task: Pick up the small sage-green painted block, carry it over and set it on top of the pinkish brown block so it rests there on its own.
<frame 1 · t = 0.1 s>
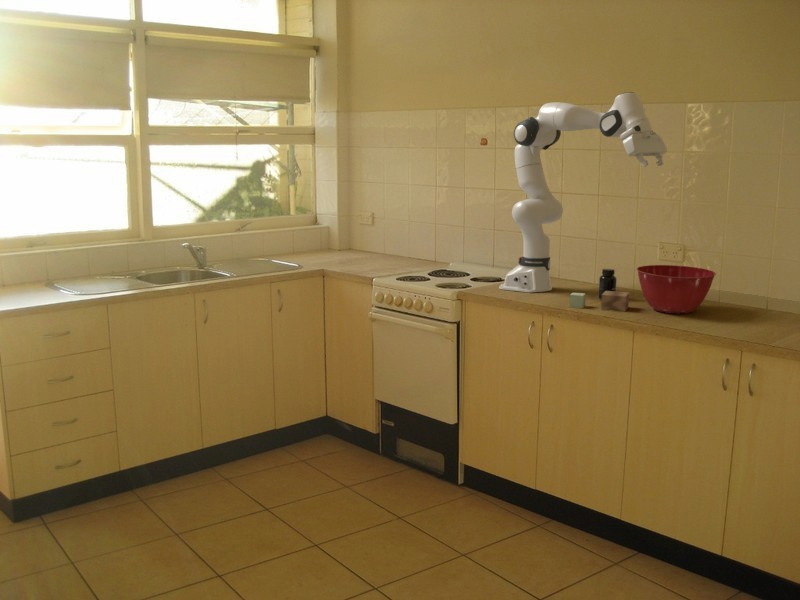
hand: (653, 165, 302), 54 cm above the worktop, tool tilted 30°, fingers open, 8 cm apart
supplement bottle: (606, 298, 335), on the worktop
sage block: (577, 306, 319), on the worktop
pinkish brown block: (614, 308, 316), on the worktop
mixing bowl: (673, 310, 312), on the worktop
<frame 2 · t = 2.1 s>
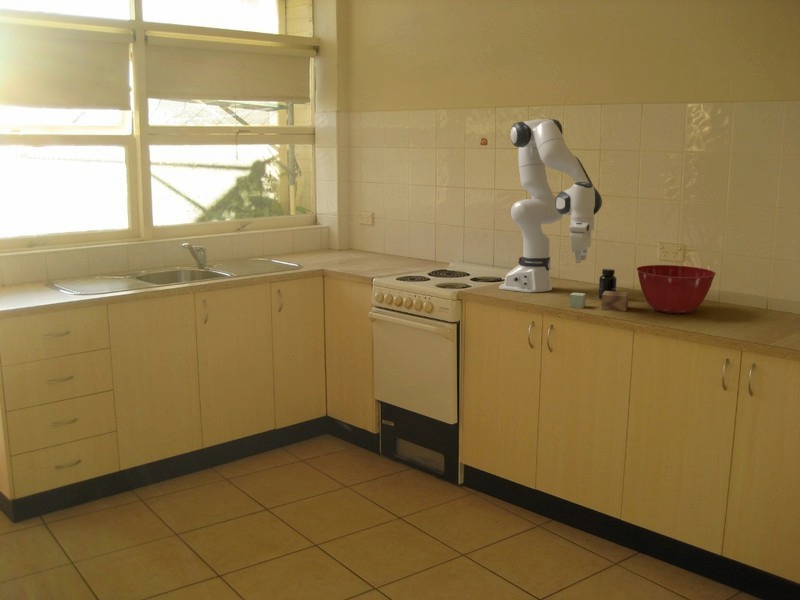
hand: (580, 261, 315), 18 cm above the worktop, tool pointing down, fingers open, 8 cm apart
nothing on the worktop moved.
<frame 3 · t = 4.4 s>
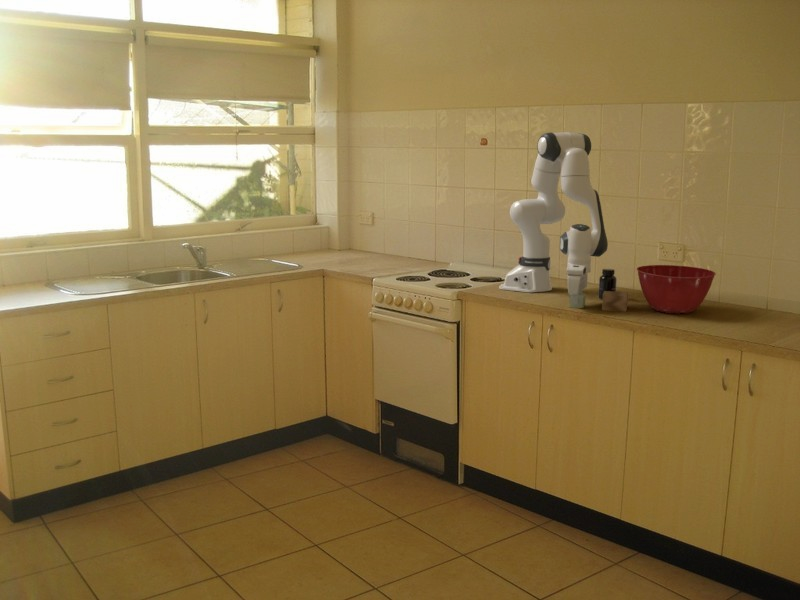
hand: (577, 302, 319), 2 cm above the worktop, tool pointing down, fingers closed on sage block, 5 cm apart
sage block: (577, 306, 319), on the worktop, touching gripper
everything else where it was.
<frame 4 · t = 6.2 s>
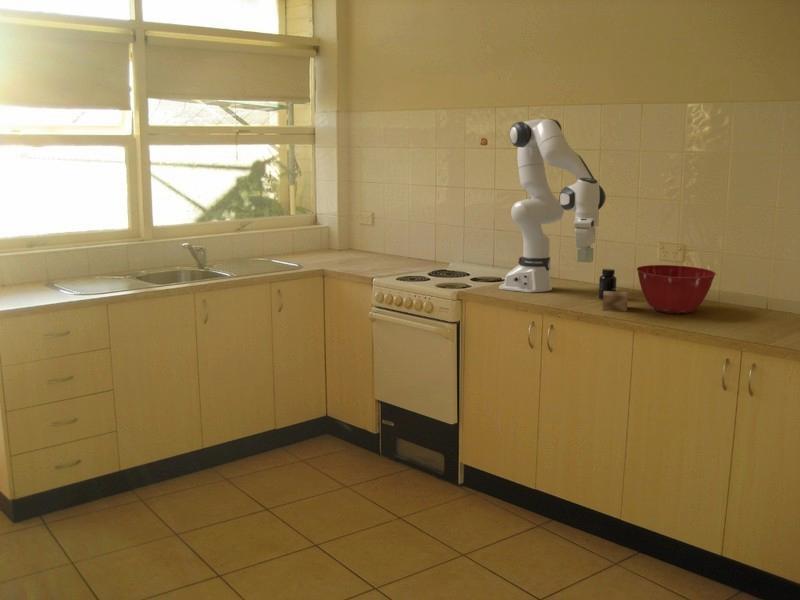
hand: (585, 257, 315), 19 cm above the worktop, tool pointing down, fingers closed on sage block, 5 cm apart
sage block: (585, 261, 315), point 18 cm above the worktop, touching gripper
everything else where it was.
when the fingers open (9 cm above the worktop, at t = 8.4 s): sage block drops 2 cm, resting on pinkish brown block.
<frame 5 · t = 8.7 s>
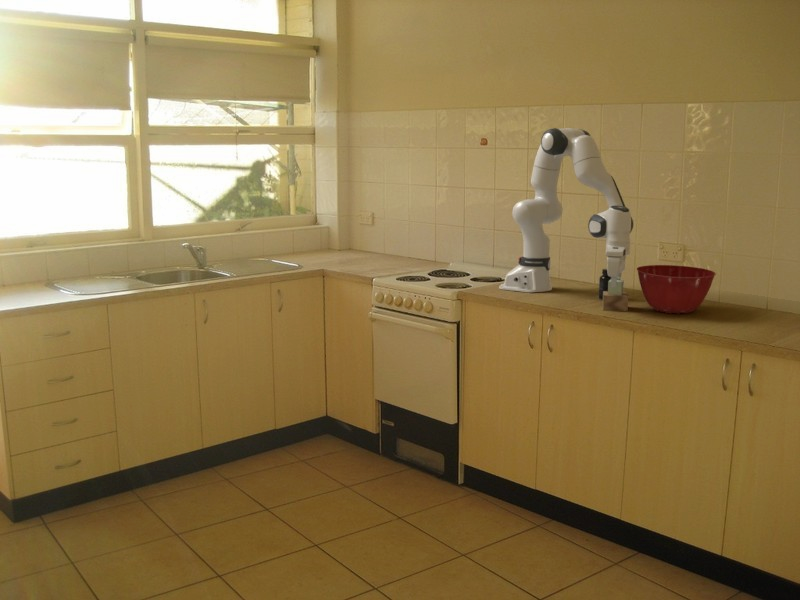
hand: (615, 285, 314), 9 cm above the worktop, tool pointing down, fingers open, 8 cm apart
sage block: (615, 293, 315), point 6 cm above the worktop, touching pinkish brown block
pinkish brown block: (614, 309, 316), on the worktop, touching sage block
everything else where it was.
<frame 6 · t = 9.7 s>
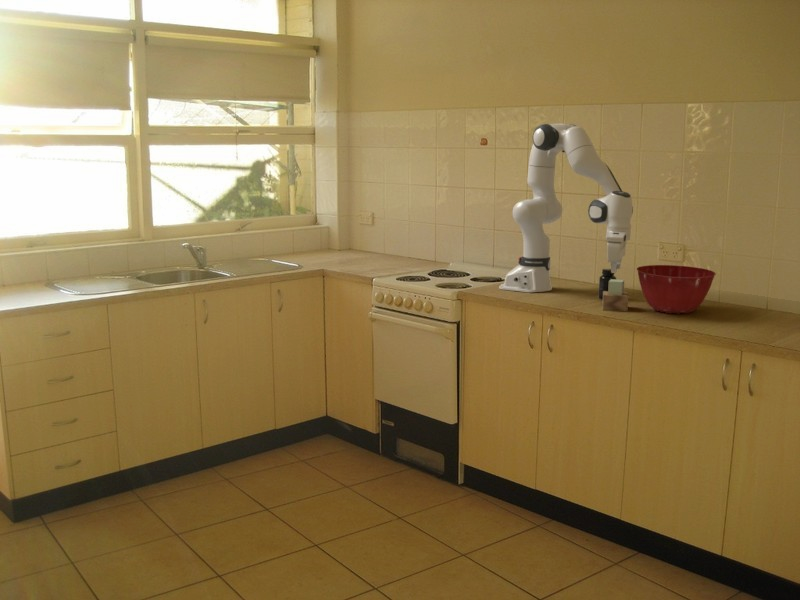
hand: (615, 270, 313), 15 cm above the worktop, tool pointing down, fingers open, 8 cm apart
sage block: (615, 293, 315), point 6 cm above the worktop
pinkish brown block: (614, 308, 316), on the worktop
everything else where it was.
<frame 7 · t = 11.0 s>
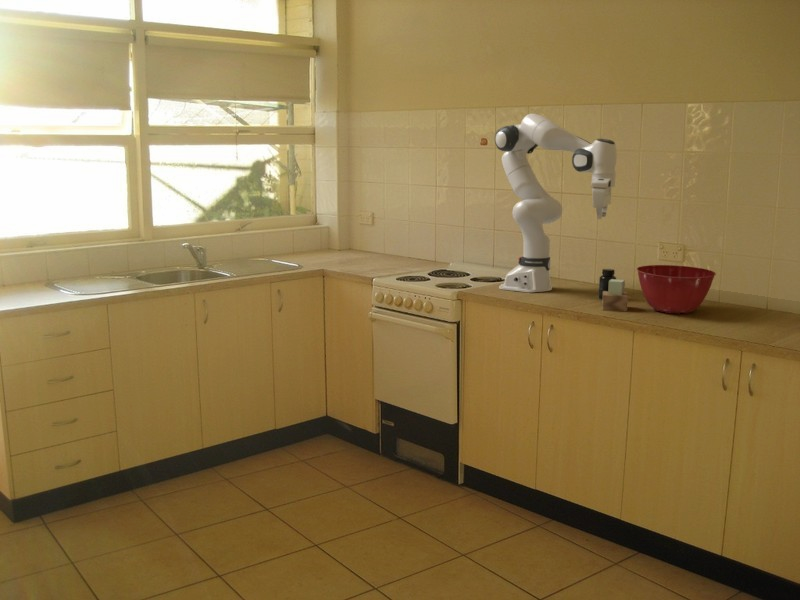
hand: (601, 217, 319), 34 cm above the worktop, tool pointing down, fingers open, 8 cm apart
sage block: (616, 293, 315), point 6 cm above the worktop, touching pinkish brown block
pinkish brown block: (614, 308, 316), on the worktop, touching sage block
everything else where it was.
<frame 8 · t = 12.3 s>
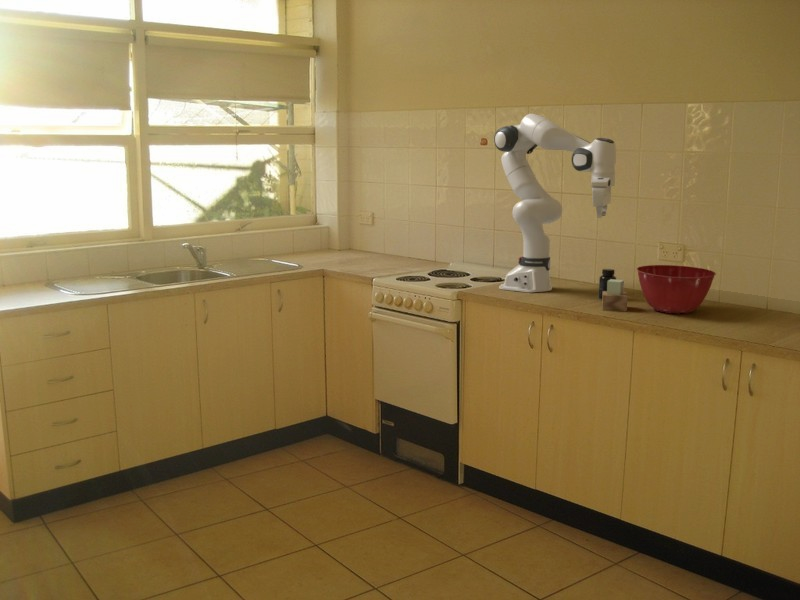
hand: (601, 216, 319), 34 cm above the worktop, tool pointing down, fingers open, 8 cm apart
nothing on the worktop moved.
at the end: sage block 0.3 cm off-centre on the pinkish brown block, point 6.0 cm above the pinkish brown block's base; the gripper is holding nothing; sage block tilted 0° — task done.
